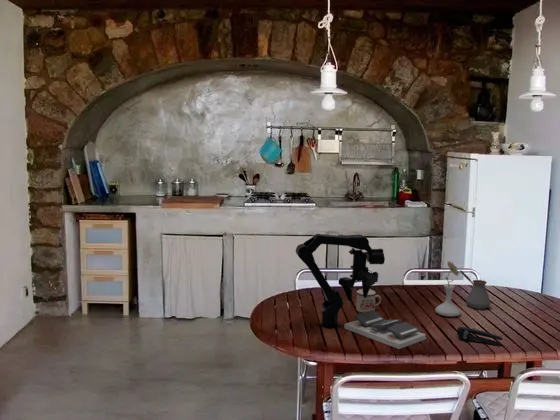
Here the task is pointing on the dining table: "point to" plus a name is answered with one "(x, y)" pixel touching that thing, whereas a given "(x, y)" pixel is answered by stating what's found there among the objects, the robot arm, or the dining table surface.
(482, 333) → the can opener
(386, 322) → the panel
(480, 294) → the coffee pot
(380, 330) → the switch panel
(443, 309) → the flower in vase
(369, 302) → the teacup with lid
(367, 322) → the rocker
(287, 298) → the dining table surface
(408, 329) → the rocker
